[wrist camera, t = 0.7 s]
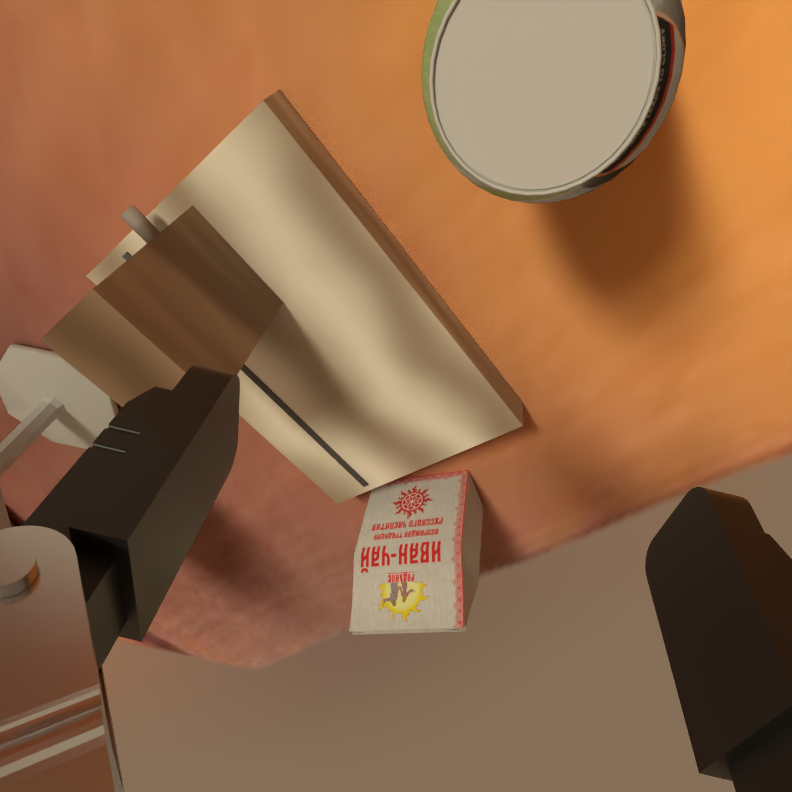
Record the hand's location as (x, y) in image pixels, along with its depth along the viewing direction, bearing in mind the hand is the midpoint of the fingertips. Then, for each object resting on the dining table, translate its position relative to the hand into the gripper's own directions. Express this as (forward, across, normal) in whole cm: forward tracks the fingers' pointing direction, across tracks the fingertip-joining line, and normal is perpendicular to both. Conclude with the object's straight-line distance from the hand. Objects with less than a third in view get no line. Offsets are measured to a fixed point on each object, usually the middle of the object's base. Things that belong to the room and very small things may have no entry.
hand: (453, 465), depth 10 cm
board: (+20, +6, +10) cm, 23 cm away
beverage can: (+19, -1, -6) cm, 20 cm away
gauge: (+18, +11, +7) cm, 22 cm away
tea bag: (+20, -3, +21) cm, 30 cm away
